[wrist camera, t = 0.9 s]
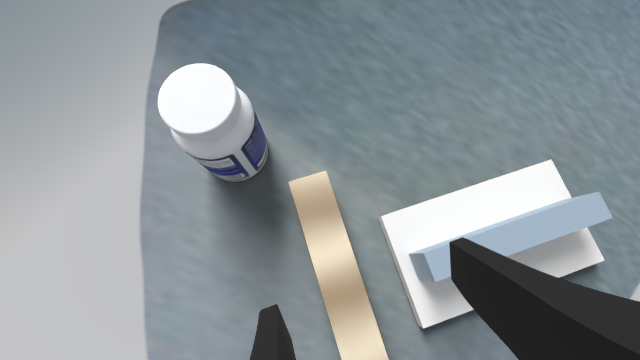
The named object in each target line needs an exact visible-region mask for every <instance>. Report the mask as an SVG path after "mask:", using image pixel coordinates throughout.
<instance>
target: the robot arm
mask: <svg viewBox="0 0 640 360" xmlns="http://www.w3.org/2000/svg"><path fill="white" fill-rule="evenodd" d="M449 246H450V266H451V280H452V281H453V283H454V284H455V286H456V287H457V288H458V290H459V291H460V293H461V294H462V295H463V297H464V298H465V300H466V301H467V302H468V303H469V304H470V306H471V307H472V308H473V309H474V310H475V311H476V312H477V313H478V315H479V316H480V317H481V318H482V319H483V320H484V321H485V322H486V323H487V324H488V326H489V327H490V328H491V329H492V330H493V331H494V332H495V333H496V334H497V335H498V337H499V338H500V339H501V340H502V341H503V342H504V343H505V344H506V345H507V346H508V348H509V349H510V350H511V351H512V352H513V353H514V354H515V356H516V357H517V358H518V359H519V360H640V302H638V301H634V300H630V299H626V298H623V297H619V296H615V295H611V294H608V293H604V292H601V291H597V290H594V289H590V288H587V287H584V286H581V285H578V284H575V283H572V282H569V281H566V280H563V279H560V278H557V277H555V276H552V275H549V274H547V273H544V272H542V271H539V270H536V269H534V268H531V267H529V266H527V265H524V264H522V263H519V262H517V261H515V260H512V259H510V258H508V257H506V256H503V255H501V254H499V253H497V252H495V251H492V250H490V249H488V248H486V247H484V246H482V245H479V244H477V243H475V242H473V241H471V240H468V239H466V238H464V237H462V238H459V239H456V240H454V241H451V242H449ZM250 360H296V358H295V353H294V349H293V344H292V340H291V337H290V335H289V332H288V330H287V327H286V325H285V322H284V320H283V317H282V315H281V313H280V310H279V308H278V305H277V304H276V305H273V306H270V307H268V308H265V309H262V310H261V311H260V313H259V320H258V326H257V331H256V336H255V340H254V345H253V349H252V353H251V357H250Z"/></svg>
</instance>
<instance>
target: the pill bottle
mask: <svg viewBox="0 0 640 360" xmlns="http://www.w3.org/2000/svg"><path fill="white" fill-rule="evenodd" d="M158 109H159V112H160V115H161V117H162V119H163V120H164V122H165V123H166V124H167V125H168V126H169V127H170V129H171V132H172V135H173V137H174V139H175V141H176V142H177V144H178V145H179V146H180V147H181V148H182V149H183V150H184V151H185V152H186V153H188V154H189V155H190V156H191V157H193V158H194V159H195V160H196V161H198V162H199V163H200V164H201V165H203V166H204V167H205V168H206V169H208V170H209V171H210V172H211V173H213V174H214V175H215V176H217V177H219V178H221V179H223V180H226V181H242V180H246V179H248V178H250V177H252V176H254V175H255V174H256V173H258V172H259V171H260V170H261V168H262V167H263V165H264V164H265V162H266V159H267V156H268V143H267V139H266V137H265V134H264V132H263V130H262V127H261V125H260V123H259V120H258V118H257V116H256V113H255V111H254V109H253V106H252V104H251V102H250V100H249V99H248V97H247V96H246V95H245V94H244V92H242V91H241V90H240V89H239V88H237V87H236V86H235V84H234V83H233V81H232V79H231V78H230V77H229V75H228V74H227V73H226V72H224V71H223V70H222V69H220V68H218V67H216V66H213V65H209V64H191V65H187V66H184V67H182V68H180V69H178V70H176V71H175V72H174V73H172V74H171V75H170V76H169V77H168V78H167V79H166V80H165V82H164V83H163V85H162V87H161V89H160V92H159V96H158Z"/></svg>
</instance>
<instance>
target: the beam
mask: <svg viewBox="0 0 640 360" xmlns="http://www.w3.org/2000/svg"><path fill="white" fill-rule="evenodd" d="M289 185H290V189H291V192H292V195H293V199H294V202H295V205H296V209H297V212H298V215H299V219H300V222H301V225H302V229H303V232H304V235H305V239H306V242H307V245H308V249H309V252H310V255H311V259H312V262H313V265H314V269H315V272H316V275H317V279H318V282H319V285H320V289H321V292H322V296H323V299H324V302H325V306H326V309H327V312H328V316H329V319H330V322H331V326H332V329H333V332H334V336H335V339H336V342H337V346H338V349H339V352H340V356H341V359H342V360H389V359H388V356H387V353H386V350H385V347H384V344H383V341H382V338H381V335H380V332H379V329H378V326H377V323H376V320H375V317H374V314H373V311H372V308H371V305H370V302H369V299H368V296H367V293H366V290H365V287H364V284H363V281H362V278H361V275H360V272H359V269H358V266H357V263H356V260H355V256H354V253H353V250H352V247H351V244H350V241H349V238H348V235H347V232H346V229H345V226H344V223H343V220H342V217H341V214H340V211H339V208H338V205H337V202H336V199H335V196H334V193H333V190H332V187H331V184H330V181H329V178H328V175H327V172H326V171H323V172H320V173H316V174H313V175H310V176H306V177H303V178H300V179H296V180H293V181H290V182H289Z"/></svg>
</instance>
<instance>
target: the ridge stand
mask: <svg viewBox="0 0 640 360" xmlns="http://www.w3.org/2000/svg"><path fill="white" fill-rule="evenodd" d="M611 218H613V217H612V215H611V213H610V211H609V209H608V208H607V206H606V204H605V202H604V200H603V198H602V197H601V195H600V193H599V192H596V193H591V194H587V195H582V196H578V197H574V198H571V196H570V194H569V192H568V190H567V188H566V186H565V184H564V183H563V181H562V179H561V177H560V175H559V173H558V171H557V169H556V167H555V165H554V164H553V162H552V160H548V161H545V162H542V163H539V164H536V165H533V166H530V167H527V168H524V169H521V170H518V171H515V172H512V173H509V174H506V175H503V176H500V177H497V178H494V179H491V180H488V181H485V182H482V183H479V184H476V185H473V186H470V187H467V188H464V189H461V190H458V191H455V192H452V193H449V194H446V195H443V196H440V197H437V198H434V199H431V200H428V201H425V202H422V203H419V204H416V205H413V206H410V207H407V208H404V209H401V210H398V211H395V212H392V213H389V214H386V215H383V216H381V217H379V218H378V219H379V222H380V224H381V227H382V230H383V232H384V235H385V238H386V240H387V243H388V246H389V248H390V251H391V254H392V256H393V259H394V262H395V264H396V267H397V270H398V272H399V275H400V278H401V280H402V283H403V286H404V288H405V291H406V294H407V297H408V299H409V302H410V305H411V307H412V310H413V313H414V315H415V318H416V321H417V323H418V325H419V326H420V327H422V328H423V329H424V328H426V327H429V326H432V325H434V324H437V323H440V322H442V321H445V320H448V319H450V318H453V317H456V316H458V315H461V314H464V313H466V312H469V311H472V310H474V309H473V308H472V307H471V306H470V304H469V303H468V302H467V301H466V300H465V298H464V297H463V295H462V294H461V293H460V291H459V290H458V288H457V287H456V286H455V284H454V283H453V281H452V280H451V266H450V246H449V242H451V241H454V240H456V239H459V238H462V237H464V238H466V239H468V240H471V241H473V242H475V243H477V244H479V245H482V246H484V247H486V248H488V249H490V250H492V251H495V252H497V253H499V254H501V255H503V256H506V257H508V258H510V259H512V260H515V261H517V262H519V263H522V264H524V265H527V266H529V267H531V268H534V269H536V270H539V271H542V272H544V273H547V274H549V275H552V276H555V277H557V278H559V277H562V276H564V275H567V274H570V273H572V272H575V271H578V270H580V269H583V268H586V267H588V266H591V265H594V264H596V263H599V262H602V261H604V258H603V256H602V255H601V253H600V251H599V249H598V247H597V245H596V243H595V241H594V239H593V237H592V236H591V234H590V232H589V230H588V228H587V227H589V226H591V225H594V224H597V223H600V222H603V221H605V220H608V219H611Z"/></svg>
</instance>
